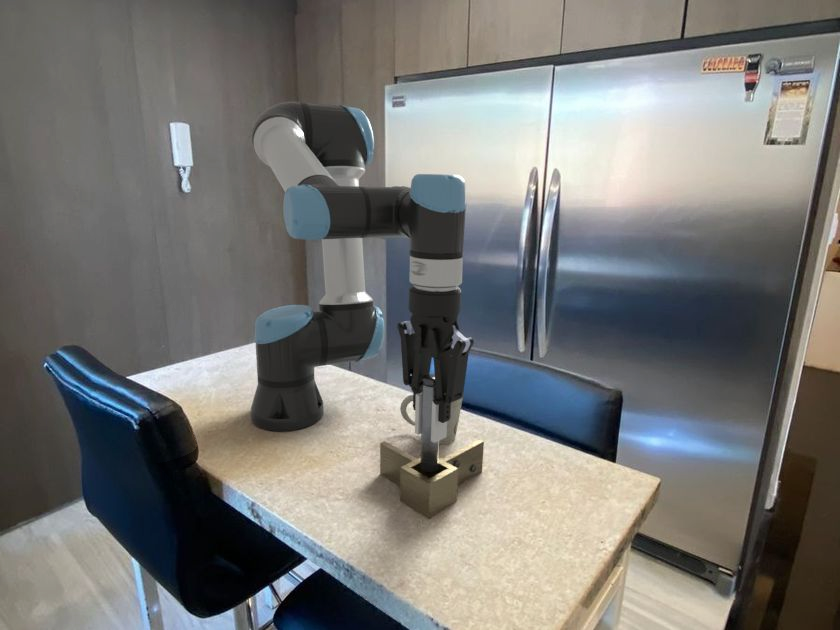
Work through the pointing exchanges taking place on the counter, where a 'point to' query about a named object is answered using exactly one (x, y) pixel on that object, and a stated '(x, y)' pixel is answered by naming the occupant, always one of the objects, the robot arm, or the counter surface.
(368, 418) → the counter surface
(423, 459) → the pin
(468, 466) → the hinge
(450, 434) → the mug
